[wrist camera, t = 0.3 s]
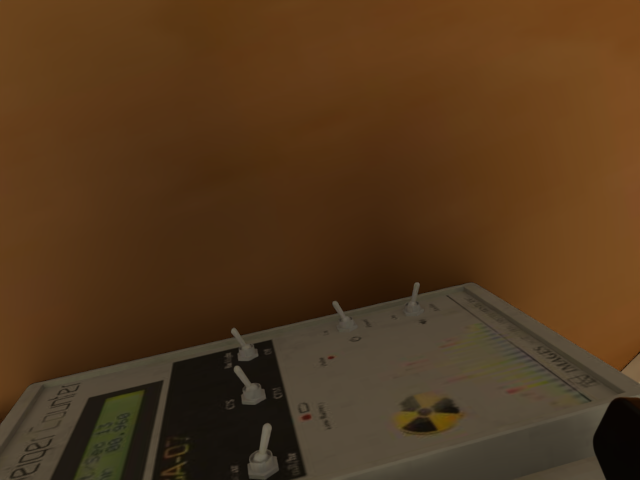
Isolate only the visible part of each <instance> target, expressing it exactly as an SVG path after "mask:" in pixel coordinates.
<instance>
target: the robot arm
mask: <svg viewBox="0 0 640 480" xmlns="http://www.w3.org/2000/svg"><path fill="white" fill-rule="evenodd" d="M593 449H594V453H595V455H596V458H597V460H598V462H599V465H600V467H601V469H602V472H603V474H604V477H605V479H606V480H640V398H637V397H618V398H615V399H614V400H612V401H611V402H610V404H609V405H608V407H607V409H606V411H605V413H604V415H603V417H602V419H601V421H600V423H599V425H598V427H597V429H596V431H595V433H594V436H593Z"/></svg>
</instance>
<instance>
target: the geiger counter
mask: <svg viewBox="0 0 640 480" xmlns="http://www.w3.org/2000/svg"><path fill="white" fill-rule="evenodd" d="M419 287H420V284H419V283H418V282H416V283H415V284H414V288H413V293H412V296H410V297H406V298H401V299H397V300H393V301H388V302H384V303H380V304H375V305H371V306H367V307H362V308H358V309H354V310H350V311H345V312H343V311H342V309H341V307H340V306H339V304H338V302H337V301H333V303H332V305H333V307H334V308H335V309H336V311H337V312H338V313H337V314H332V315H328V316H324V317H319V318H315V319H311V320H306V321H302V322H298V323H293V324H289V325H285V326H280V327H276V328H272V329H267V330H263V331H259V332H254V333H250V334H246V335H242V336H241V335H240V334H239V332H238V331H237V329H235V328H233V329H232V330H231V333H232V334H233V336H234V337H233V338H229V339H224V340H220V341H216V342H211V343H207V344H203V345H198V346H194V347H190V348H185V349H181V350H177V351H172V352H168V353H164V354H159V355H155V356H151V357H146V358H142V359H138V360H134V361H129V362H125V363H121V364H116V365H112V366H108V367H103V368H99V369H95V370H90V371H86V372H82V373H77V374H73V375H69V376H64V377H60V378H56V379H51V380H47V381H43V382H38V383H34V384H31V385H30V386H28V387H27V389H26V390H25V391H24V393H23V394H22V396H21V397H20V398H19V400H18V401H17V402H16V404H15V405H14V407H13V408H12V409H11V411H10V412H9V413H8V415H7V416H6V418H5V419H4V420H3V422H2V423H1V425H0V480H606V479H605V477H604V474H603V472H602V469H601V467H600V465H599V462H598V460H597V458H596V455H595V453H594V449H593V436H594V433H595V431H596V429H597V427H598V425H599V423H600V421H601V419H602V417H603V415H604V413H605V411H606V409H607V407H608V405H609V404H610V402H611V401H612V400H614V399H615V398H618V397H637V398H640V384H639V383H638V382H636V381H635V380H633V379H631V378H630V377H628V376H626V375H625V374H623V373H621V372H620V371H618V370H617V369H615V368H613V367H612V366H610V365H608V364H607V363H605V362H603V361H602V360H600V359H599V358H597V357H595V356H594V355H592V354H590V353H589V352H587V351H585V350H584V349H582V348H581V347H579V346H577V345H576V344H574V343H572V342H571V341H569V340H567V339H566V338H564V337H563V336H561V335H559V334H558V333H556V332H554V331H553V330H551V329H549V328H548V327H546V326H544V325H543V324H541V323H540V322H538V321H536V320H535V319H533V318H531V317H530V316H528V315H526V314H525V313H523V312H522V311H520V310H518V309H517V308H515V307H513V306H512V305H510V304H508V303H507V302H505V301H504V300H502V299H500V298H499V297H497V296H495V295H494V294H492V293H490V292H489V291H487V290H486V289H484V288H482V287H481V286H479V285H477V284H476V283H466V284H462V285H458V286H453V287H449V288H445V289H440V290H436V291H432V292H427V293H423V294H419V295H417V294H418V291H419Z"/></svg>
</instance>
